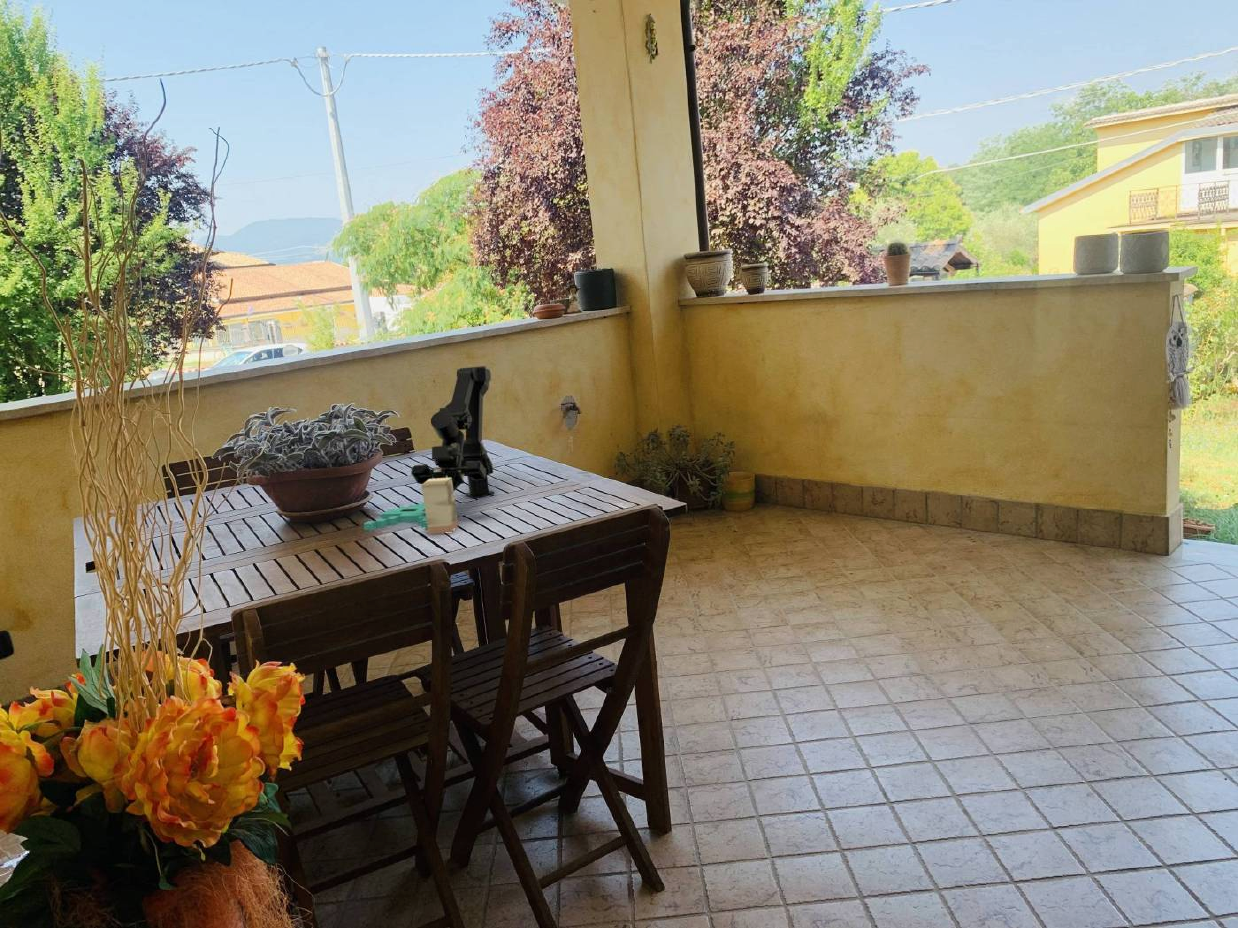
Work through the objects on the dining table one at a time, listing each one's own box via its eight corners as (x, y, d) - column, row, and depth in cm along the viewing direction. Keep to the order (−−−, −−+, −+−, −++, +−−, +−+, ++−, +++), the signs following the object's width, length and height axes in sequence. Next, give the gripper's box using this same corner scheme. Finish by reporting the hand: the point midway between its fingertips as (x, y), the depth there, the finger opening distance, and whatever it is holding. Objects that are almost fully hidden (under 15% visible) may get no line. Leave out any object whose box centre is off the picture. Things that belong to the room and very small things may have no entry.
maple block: (436, 527, 237) (429, 478, 234) (458, 526, 236) (451, 477, 233) (428, 534, 231) (421, 484, 228) (451, 533, 230) (444, 483, 227)
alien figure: (433, 531, 235) (466, 509, 254) (432, 522, 235) (465, 501, 254) (365, 531, 241) (402, 510, 260) (363, 523, 240) (400, 502, 259)
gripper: (408, 435, 239) (399, 486, 230) (477, 430, 236) (470, 482, 228) (422, 458, 248) (414, 508, 240) (488, 453, 245) (483, 503, 237)
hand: (445, 500), depth 236 cm, fingers closed
